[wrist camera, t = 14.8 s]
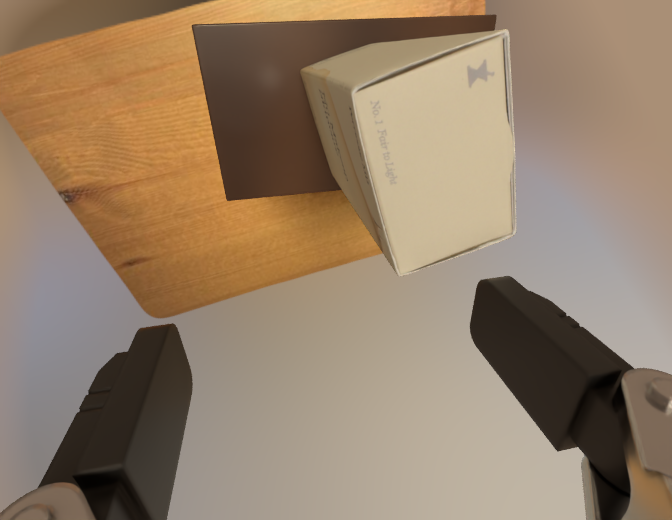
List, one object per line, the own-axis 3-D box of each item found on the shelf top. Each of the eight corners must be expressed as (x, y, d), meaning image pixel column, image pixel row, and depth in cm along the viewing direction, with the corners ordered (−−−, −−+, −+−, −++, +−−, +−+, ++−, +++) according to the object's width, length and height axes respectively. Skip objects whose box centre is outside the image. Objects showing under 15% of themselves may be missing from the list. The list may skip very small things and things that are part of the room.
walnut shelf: (246, 127, 46) (226, 201, 22) (234, 46, 41) (191, 24, 17) (368, 119, 48) (472, 177, 24) (368, 40, 44) (497, 14, 19)
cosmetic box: (297, 68, 19) (338, 78, 9) (376, 40, 19) (514, 15, 9) (332, 179, 22) (393, 283, 12) (400, 154, 22) (521, 237, 12)
